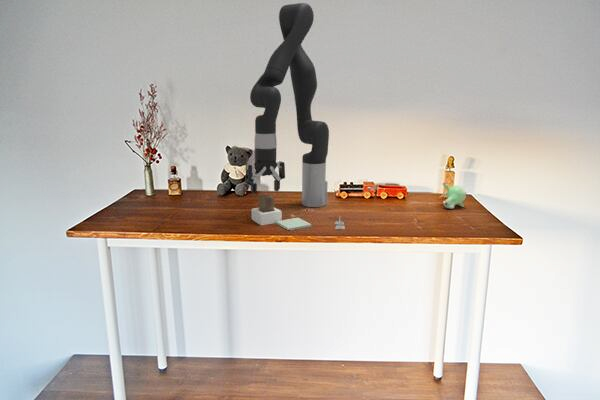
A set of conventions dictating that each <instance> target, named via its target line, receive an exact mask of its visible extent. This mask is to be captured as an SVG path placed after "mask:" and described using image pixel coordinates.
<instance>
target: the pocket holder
mask: <svg viewBox="0 0 600 400" xmlns="http://www.w3.org/2000/svg"><path fill="white" fill-rule="evenodd" d="M250 211H251V220H252V221H253V222H255V223H257V224H258V225H259V226H266V225H272V224H276V221H281V220H283V219H282V218H283V216H282V215H283V213H282V210H281V209H278V208H276V207H275V206H274V211H271V212H265V213H263V212H261V211H259V207H254V208H251V210H250Z"/></svg>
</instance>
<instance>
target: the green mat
mask: <svg viewBox="0 0 600 400" xmlns="http://www.w3.org/2000/svg"><path fill="white" fill-rule="evenodd" d="M275 224H277V225H278V226H280V227H281V228H282V229H284V230H286V229H287V231H288V230H290V231H294V230H295V229H296V230H300V229H304V228H311V227H312V224H311V223H310V222H307V221H305V220H304V219H301V218H300V217H294V218H293V217H292V218H288V219H282V220H281V221H276V223H275ZM296 230H295V231H296Z"/></svg>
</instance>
